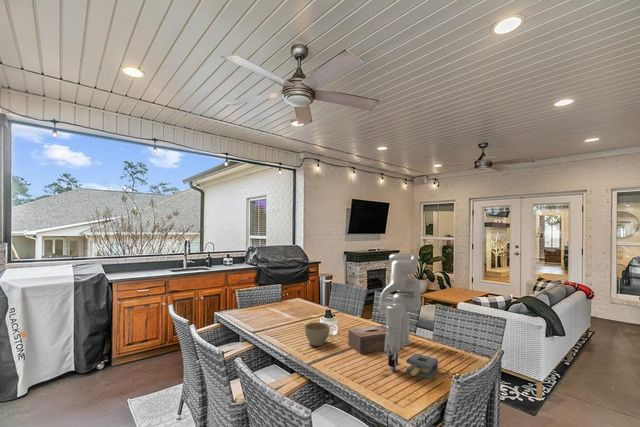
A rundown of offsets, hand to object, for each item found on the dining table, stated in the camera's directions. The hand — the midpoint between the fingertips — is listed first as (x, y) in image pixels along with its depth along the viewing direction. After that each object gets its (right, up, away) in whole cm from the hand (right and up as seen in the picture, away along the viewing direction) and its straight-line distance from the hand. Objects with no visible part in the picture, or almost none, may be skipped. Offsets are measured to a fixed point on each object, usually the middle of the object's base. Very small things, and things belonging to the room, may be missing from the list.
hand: (393, 365), depth 162 cm
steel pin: (0, -3, 0) cm, 3 cm away
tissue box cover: (-6, -5, +33) cm, 33 cm away
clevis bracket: (+13, -3, -3) cm, 14 cm away
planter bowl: (-40, -4, +36) cm, 54 cm away
